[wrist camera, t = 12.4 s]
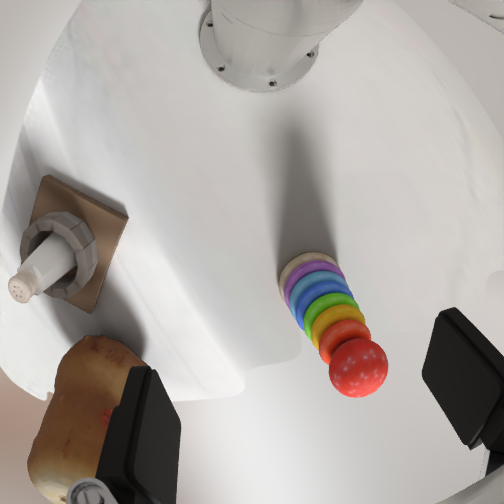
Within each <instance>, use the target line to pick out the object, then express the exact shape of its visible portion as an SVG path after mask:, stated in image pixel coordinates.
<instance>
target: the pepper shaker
mask: <svg viewBox="0 0 504 504" xmlns="http://www.w3.org/2000/svg"><path fill="white" fill-rule="evenodd" d="M76 265H77V260H76V255H75V251H74V250H73V249H72V247H71V246H70V244H69V243H68V241H67V240H66V238H64V237H63V236H61V235H59V234H57V233H56V232H53V233H52V234H51V235H50V236H49V237H48V238H47V239H46V240H45V241H44V242H43V243H42V244H41V245H40V246H39V247H38V248H37V249H36V250H35V251H34V252H33V253H32V254H31V255H30V256H29V257H28V258H27V259H26V260H25V261H24V263H23V264H22V265H21V266H20V267H19V268H18V270H17V271H18V273H17V274H16V275H15V276H13V277H12V278H11V279H10V280H9V282H8V288H9V292H10V294H11V296H12V297H13V298H14V299H15V300H16V301H17V302H19V303H27V302H28V301H29V300H30V298H31V297H32V296H33V295H37V296H38V295H39V294H40V293H42V292H43V291H44V290H46V289H47V288H48V287H50V286H51V285H52V284H53V283H55V282H56V281H57V280H59V279H60V278H61V277H63V276H64V275H65V274H66V273H68V272H69V271H71V270H72V269H73V268H74V267H75V266H76Z"/></svg>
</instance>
